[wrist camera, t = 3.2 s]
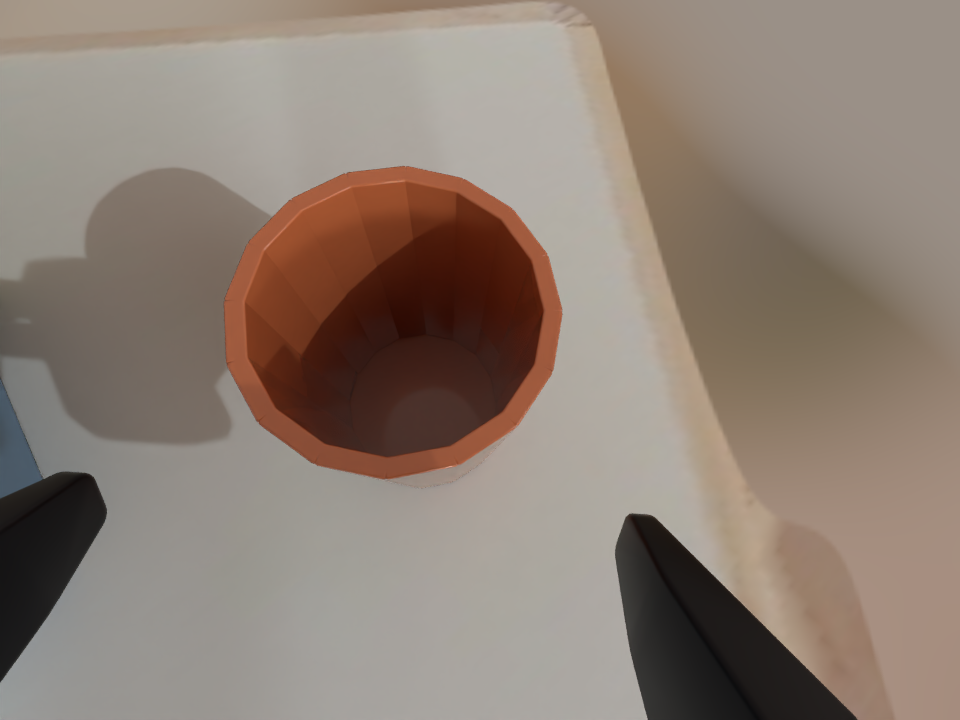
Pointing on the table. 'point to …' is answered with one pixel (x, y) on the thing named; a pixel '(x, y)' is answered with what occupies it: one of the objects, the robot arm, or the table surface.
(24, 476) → the door shelf
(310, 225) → the cup
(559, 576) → the table surface
